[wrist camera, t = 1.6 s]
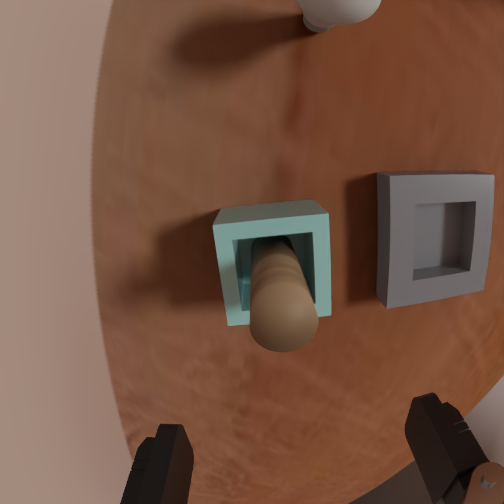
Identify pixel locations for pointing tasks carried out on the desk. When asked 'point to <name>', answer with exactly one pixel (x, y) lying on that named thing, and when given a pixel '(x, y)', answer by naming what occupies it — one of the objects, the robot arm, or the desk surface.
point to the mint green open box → (271, 224)
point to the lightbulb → (335, 12)
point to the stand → (432, 234)
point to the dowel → (279, 297)
